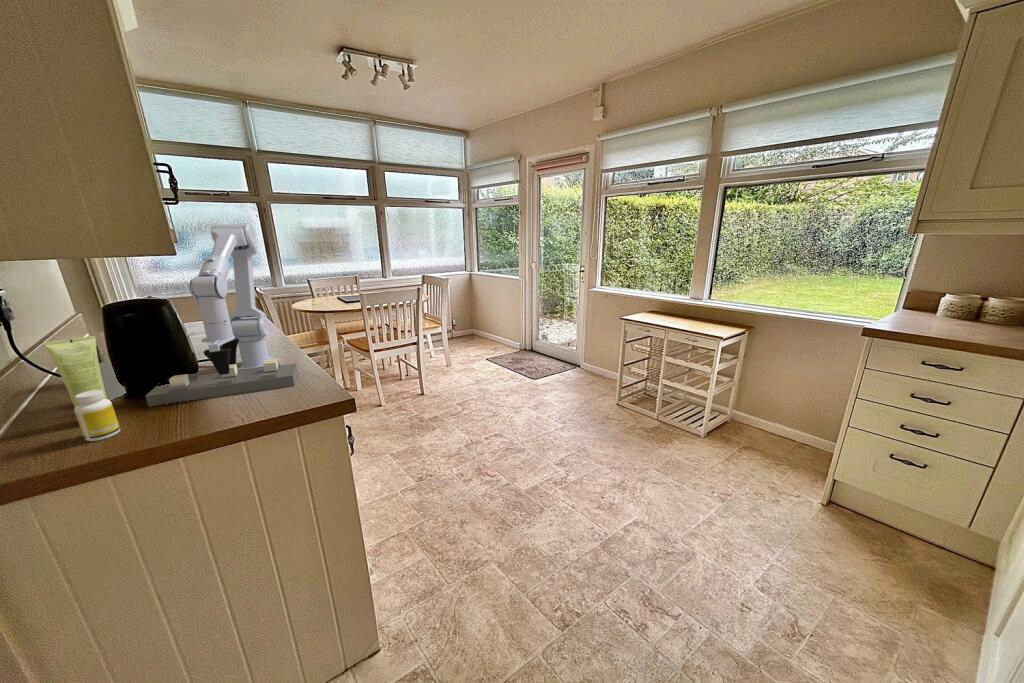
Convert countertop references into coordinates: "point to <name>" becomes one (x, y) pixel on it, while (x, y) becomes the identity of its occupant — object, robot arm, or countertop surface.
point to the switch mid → (231, 371)
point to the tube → (77, 365)
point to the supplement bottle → (96, 416)
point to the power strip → (224, 385)
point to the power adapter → (110, 381)
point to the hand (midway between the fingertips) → (227, 369)
